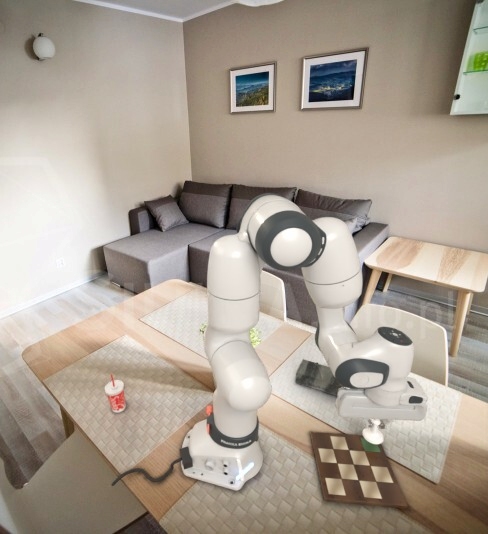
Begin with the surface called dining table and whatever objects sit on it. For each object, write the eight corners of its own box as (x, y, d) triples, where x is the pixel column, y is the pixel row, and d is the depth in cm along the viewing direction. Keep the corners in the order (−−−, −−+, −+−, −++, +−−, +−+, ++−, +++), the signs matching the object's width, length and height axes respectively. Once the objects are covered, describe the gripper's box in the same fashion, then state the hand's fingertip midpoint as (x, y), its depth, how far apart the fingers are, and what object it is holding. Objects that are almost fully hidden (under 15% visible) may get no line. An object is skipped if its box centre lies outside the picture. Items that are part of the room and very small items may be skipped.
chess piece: (382, 431, 88) (388, 404, 84) (383, 447, 84) (390, 419, 80) (362, 425, 90) (367, 399, 86) (362, 440, 86) (367, 413, 82)
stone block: (302, 367, 119) (303, 355, 117) (345, 380, 111) (347, 368, 109) (295, 382, 112) (295, 371, 110) (340, 398, 105) (341, 386, 102)
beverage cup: (106, 412, 107) (97, 379, 101) (116, 398, 112) (108, 366, 106) (122, 416, 105) (114, 383, 99) (131, 401, 110) (124, 369, 104)
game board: (324, 501, 78) (325, 498, 77) (310, 434, 94) (310, 431, 93) (406, 509, 75) (407, 505, 74) (377, 438, 91) (378, 435, 91)
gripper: (342, 395, 78) (336, 434, 84) (435, 399, 75) (422, 439, 81) (335, 376, 84) (330, 414, 90) (422, 379, 81) (411, 418, 87)
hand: (374, 426), depth 85 cm, fingers closed on chess piece
